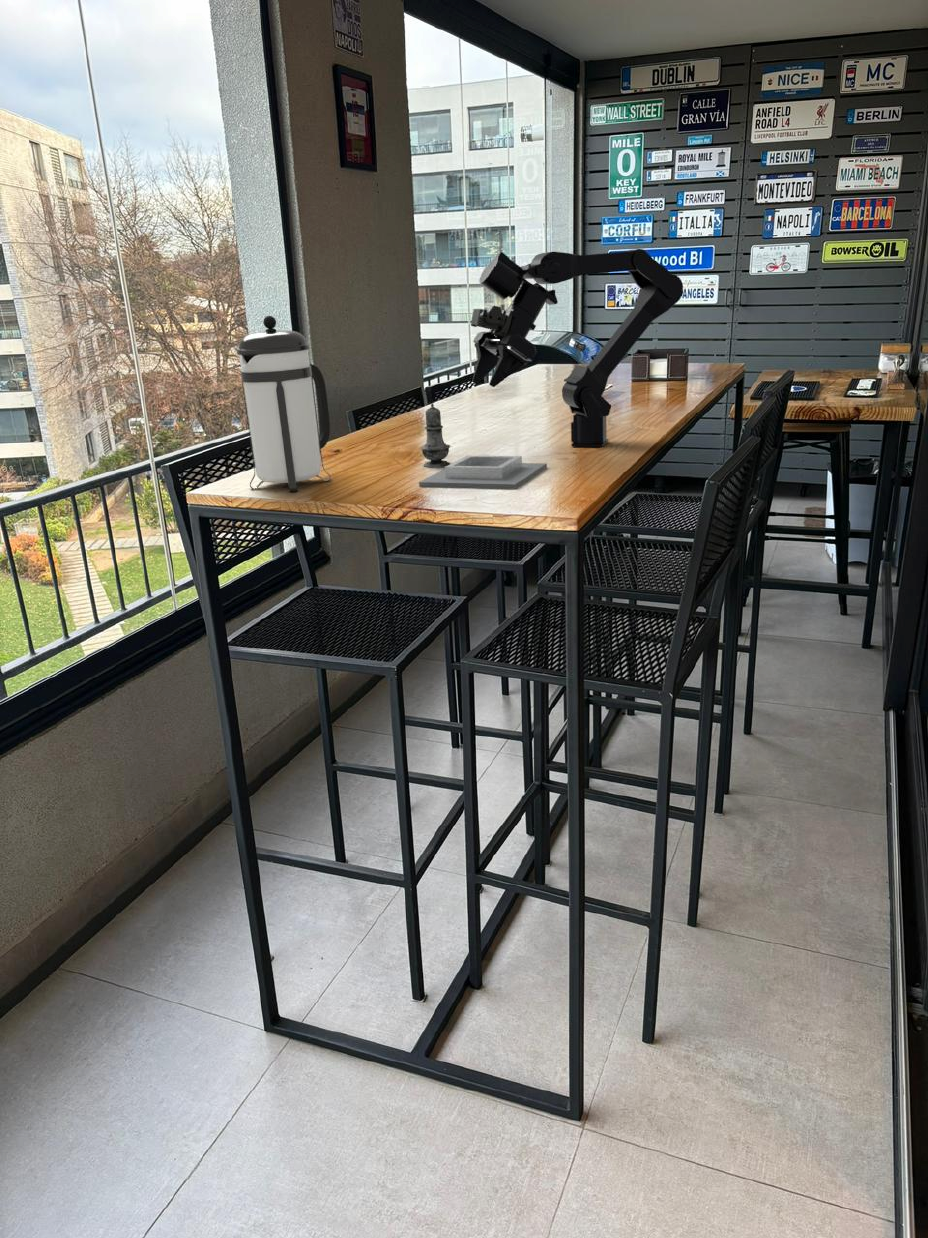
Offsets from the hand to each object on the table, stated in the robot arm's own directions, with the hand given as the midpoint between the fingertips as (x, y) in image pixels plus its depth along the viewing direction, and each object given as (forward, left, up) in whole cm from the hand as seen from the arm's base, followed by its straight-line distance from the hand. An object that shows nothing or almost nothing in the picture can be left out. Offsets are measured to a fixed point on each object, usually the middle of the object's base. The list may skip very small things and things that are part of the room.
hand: (482, 384), depth 178 cm
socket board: (-6, +18, -14) cm, 24 cm away
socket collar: (-6, +18, -14) cm, 24 cm away
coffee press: (+29, +27, -15) cm, 42 cm away
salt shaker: (+8, +8, -15) cm, 18 cm away
